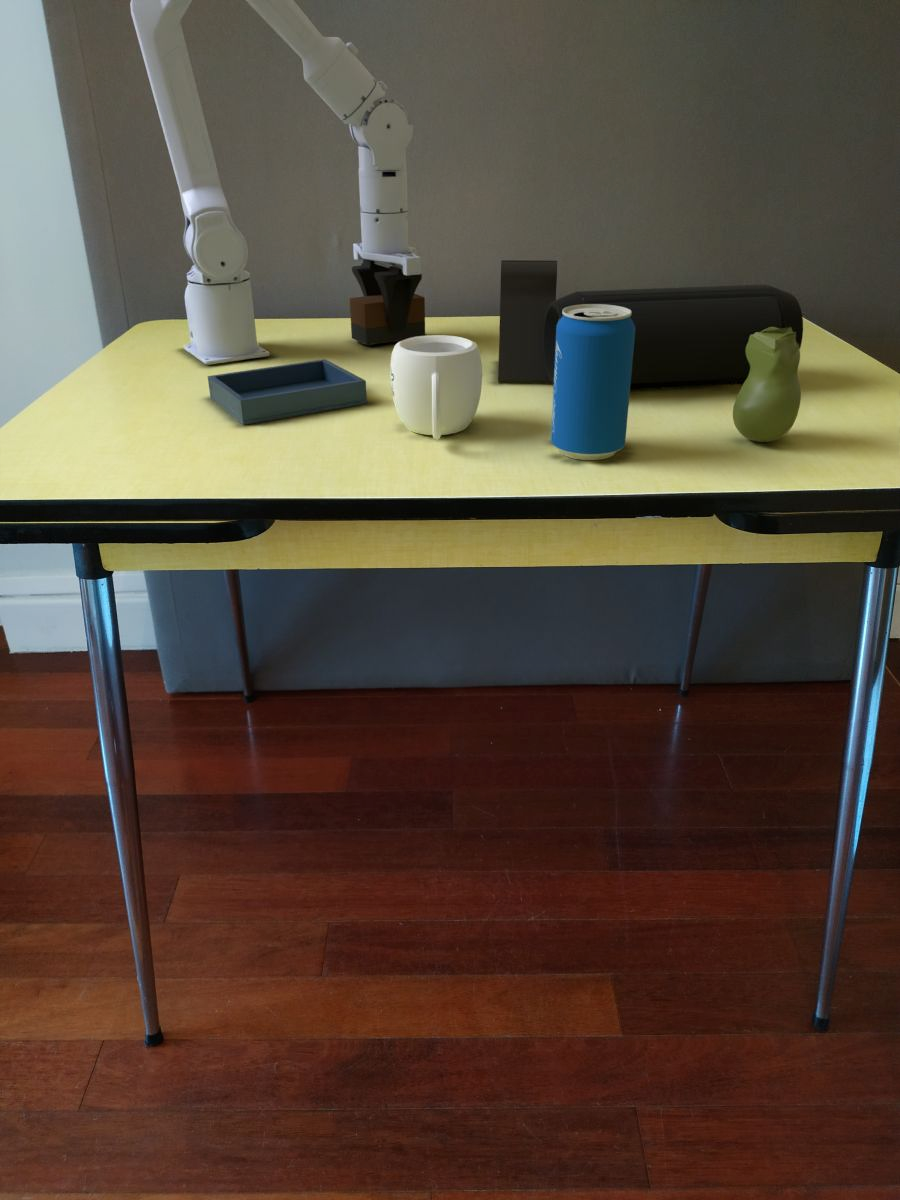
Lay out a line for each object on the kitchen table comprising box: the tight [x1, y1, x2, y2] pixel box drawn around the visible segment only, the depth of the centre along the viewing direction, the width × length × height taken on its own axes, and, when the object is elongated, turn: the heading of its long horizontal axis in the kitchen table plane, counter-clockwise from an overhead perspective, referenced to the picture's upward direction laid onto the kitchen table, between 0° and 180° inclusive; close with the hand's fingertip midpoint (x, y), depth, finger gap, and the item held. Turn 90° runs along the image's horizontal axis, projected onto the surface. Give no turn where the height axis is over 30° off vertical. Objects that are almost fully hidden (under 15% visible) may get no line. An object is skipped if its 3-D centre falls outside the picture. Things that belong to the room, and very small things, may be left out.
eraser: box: [349, 293, 426, 346], centre depth 115 cm, size 4×8×5 cm, turn 121°
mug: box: [389, 334, 483, 441], centre depth 83 cm, size 12×8×8 cm
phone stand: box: [497, 259, 558, 385], centre depth 100 cm, size 9×6×12 cm, turn 175°
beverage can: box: [550, 304, 635, 461], centre depth 77 cm, size 6×6×12 cm
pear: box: [732, 327, 802, 443], centre depth 80 cm, size 6×5×10 cm
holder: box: [207, 358, 368, 426], centre depth 93 cm, size 10×13×2 cm
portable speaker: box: [543, 284, 804, 391], centre depth 96 cm, size 26×10×10 cm, turn 99°
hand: (388, 326), depth 116 cm, fingers closed on eraser, 4 cm apart
